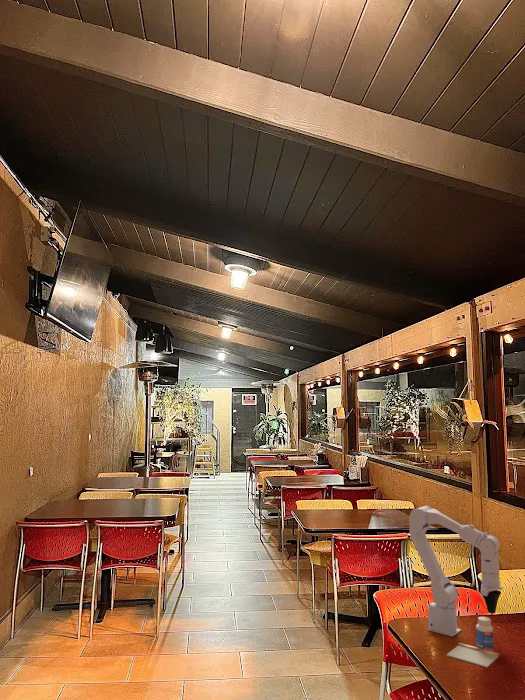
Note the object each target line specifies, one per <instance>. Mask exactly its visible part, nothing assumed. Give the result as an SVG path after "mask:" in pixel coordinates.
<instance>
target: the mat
mask: <svg viewBox="0 0 525 700" xmlns="http://www.w3.org/2000/svg"><path fill="white" fill-rule="evenodd" d="M446 657H449V658H452V659H455V660H460V661H462V662H466V663H469V664H472V665H476V666H480V667H483V668H486V669H488V668H489V667H490V666H491V665H492V664H493V663H494V662H495V661H496V660H498V658H499V657H498V656H495V655H491V654H488V653H484V652H481V651H477V650H473V649H470V648H466V647H463V646H459V645H458V644H457V645H456V647H454V648H453V649H452V650H450V651H449V652H448V653H447V654H446Z"/></svg>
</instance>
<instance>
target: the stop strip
mask: <svg viewBox="0 0 525 700" xmlns="http://www.w3.org/2000/svg"><path fill="white" fill-rule="evenodd" d="M458 645H459V646H463V647H466V648H470V649H473V650H477V651H481V652H484V653H488V654H491V655H495V656H498V658H499V657H500V653H498V652H495V651H488V650H485V649H481V648H477V647H476V646H473V645H469V644H465V643H462V642H458V644H457V646H458Z"/></svg>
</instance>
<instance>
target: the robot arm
mask: <svg viewBox="0 0 525 700" xmlns="http://www.w3.org/2000/svg"><path fill="white" fill-rule="evenodd" d="M408 521H409V536H410V538H411V541H412V542H413V545H414V547H415V549H416V551H417V553H418V556H419V558H420V560H421V562H422V564H423V566H424V568H425V571H426V573H427V575H428V578H429V579H430V589H431V592H432V599H433V602H430V603H429V605H428V609H427V610H428V611H427V614H428V615H427V617H428V618H427V620H428V621H427V622H428V625H427V626H428V628H427V630H428V631H431V632H434V633H438V634H442V635H444V636H445V635H446V636H448V637H449V636H450V637H453V638H454V637H455V636H456V635H457V634H459V633H460V632H462V629H461V628H459V627H458V625H457V622H458V621H457V604H456V600H457V599H458V597H459V591H458V590H457V587H456V586H455V585H454V584H453V583H452V582H451V579H450V578H448V577H447V576H446V575H445V573H444V572H443V569H442V567H441V565H440V562H439V560H438V558H437V557H436V555H435V553H434V552H435V551H434V550H433V548H432V546H431V544H430V542H429V539H428V538H427V535H426V533H427V530H428V527H429V525H440V526H442V527H444V528H446V529H448V530H451V531H452V532H454V533H456V534H458V536H459V538H460V539H461V540H462V541H464V542H466V543H468V544H469V545H471V546H474V547H476V548H478V549H479V552H480V557H481V558H480V561H481V562H480V564H481V565H480V567H481V586H480V587H481V588H480V596H482V598H483V601H484V603H485V606H486V610H487V613H490V614H496V613H497V607H498V602H499V599H500V596H501V594H502V592H501V591H502V590H503V589H504V586H503V585H502V586H501V581H500V561H499V559H500V558H499V550H500V546H501V542H500V540H499V539H498V538H497V537H496V536H495V535H494V534H488V533H487V532H486V531H484V532H483V531H481V530H479V529H477V528H476V527H475V525H473V524H463V525H462V524H461V523H459V522H458V521H456V520H454V519H452V518H451V517H448V515H446V514H444V513H442V512H440V511H439V510H438V509H436V508H432V507H431V506H429V505H423V506H420V507H418V508H413V509H412V510H411V512H410V514H409V516H408Z"/></svg>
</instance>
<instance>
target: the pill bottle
mask: <svg viewBox="0 0 525 700" xmlns="http://www.w3.org/2000/svg"><path fill="white" fill-rule="evenodd" d="M491 624H492V620H491V618H489V617H488V616H479V617H477V624H476V625H475V634H476V635H475V641H476V642H475V643H476V644H475V645H476V646H475V647H477V648H481V649H485V650H488V651H492V652H494V627H493V626H492V625H491Z"/></svg>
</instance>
